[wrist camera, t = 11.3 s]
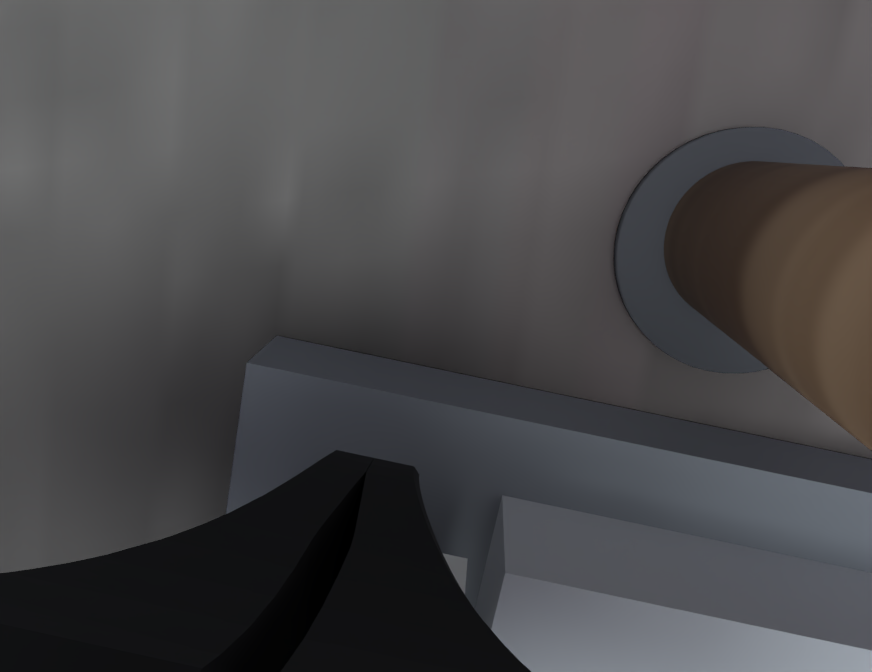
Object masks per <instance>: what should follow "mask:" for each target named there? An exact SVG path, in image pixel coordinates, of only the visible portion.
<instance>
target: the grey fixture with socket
mask: <svg viewBox="0 0 872 672" xmlns="http://www.w3.org/2000/svg"><path fill="white" fill-rule="evenodd" d="M335 450H339V451H344V452H349V453H353V454H358V455H363V456H368V457H372V458H377V459H382V460H387V461H391V462H396V463H401V464H406V465H410V466H414V467H415V469H416V470H417V472H418V473H419V484H420V490H421V495H422V499H423V503H424V506H425V510H426V513H427V516H428V519H429V521H430V524H431V527H432V529H433V532H434V535H435V537H436V540H437V542H438V544H439V547H440V549H441V551H442V553H444V554H448V555H453V556H458V557H462V558H467V572H466V585H465V595H466V597H467V598H468V600H469V602H470V603H471V605H472V606H473V608H474V609H475V611H476V612H477V613H478V614H479V616H480V617H481V618H482V620H483V621H484V622H485V623H486V624H487V625H488V627H489V628H490V629H491V630H492V631H493V632H494V634H495V635H496V636H497V637H498V638H499V640H500V641H501V642H502V643H503V644H504V645H505V646H506V647H507V648H508V649H509V650H510V651H511V652H512V653H513V654H514V656H515V657H516V658H517V659H518V660H519V661H520V662H521V663H522V664H524V665H525V666H526V667H527V668H528V669H529V670H530V671H531V672H872V459H868V458H863V457H858V456H853V455H848V454H844V453H839V452H834V451H829V450H824V449H819V448H815V447H810V446H805V445H800V444H795V443H791V442H786V441H781V440H776V439H771V438H767V437H762V436H757V435H752V434H747V433H743V432H738V431H733V430H728V429H723V428H719V427H714V426H709V425H704V424H699V423H695V422H690V421H685V420H680V419H675V418H671V417H666V416H661V415H656V414H651V413H646V412H642V411H637V410H632V409H627V408H622V407H618V406H613V405H608V404H603V403H598V402H594V401H589V400H584V399H579V398H574V397H570V396H565V395H560V394H555V393H550V392H546V391H541V390H536V389H531V388H526V387H522V386H517V385H512V384H507V383H502V382H498V381H493V380H488V379H483V378H478V377H473V376H469V375H464V374H459V373H454V372H449V371H445V370H440V369H435V368H430V367H425V366H421V365H416V364H411V363H406V362H401V361H397V360H392V359H387V358H382V357H377V356H373V355H368V354H363V353H358V352H353V351H349V350H344V349H339V348H334V347H329V346H325V345H320V344H315V343H310V342H305V341H301V340H296V339H291V338H286V337H281V336H276V337H275V338H274V339H273V340H271V341H270V342H269V343H268V344H267V345H266V346H265V347H264V348H263V349H261V350H260V351H259V352H258V353H257V354H256V355H255V356H254V357H253V358H251V359H250V360H249V361H248V362H247V364H246V372H245V379H244V386H243V394H242V401H241V408H240V415H239V423H238V430H237V437H236V444H235V452H234V459H233V466H232V473H231V481H230V488H229V495H228V502H227V510H226V514H228V513H230V512H232V511H234V510H236V509H237V508H239V507H241V506H243V505H245V504H247V503H249V502H251V501H253V500H255V499H257V498H259V497H261V496H263V495H264V494H266V493H268V492H270V491H271V490H273V489H275V488H276V487H278V486H280V485H281V484H283V483H285V482H286V481H288V480H290V479H291V478H293V477H294V476H296V475H298V474H299V473H301V472H302V471H304V470H305V469H307V468H308V467H310V466H311V465H313V464H314V463H316V462H318V461H319V460H321V459H322V458H324V457H325V456H327V455H329V454H330V453H332V452H334V451H335Z"/></svg>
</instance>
